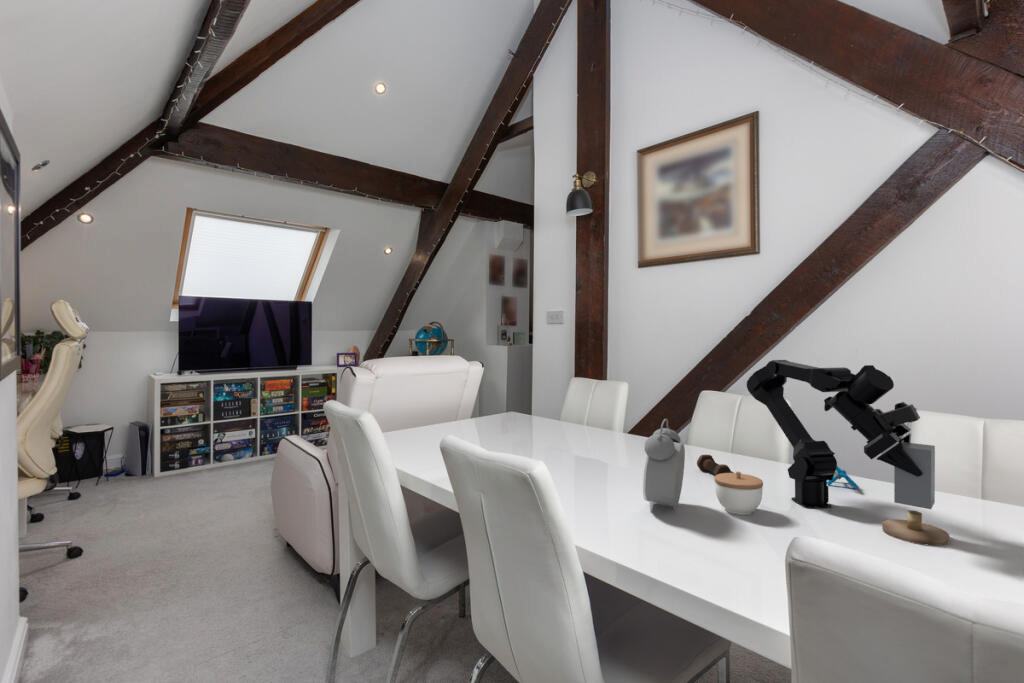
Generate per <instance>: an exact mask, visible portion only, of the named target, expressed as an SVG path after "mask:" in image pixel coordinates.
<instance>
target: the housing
mask: <svg viewBox="0 0 1024 683" xmlns="http://www.w3.org/2000/svg"><path fill="white" fill-rule="evenodd" d="M904 451H905V452H906V453H907V455H908V456H909V457H910V458H911V459H912V461H913V462H914V463H915V464H916V465H917V467H918V468H919V469H920V470H921V472H922V473H923V474H922V475H921V476H919V477H917V476H915V475H913V474H911V473H908V472H906V471H904V470H902V469H899V468H897V467H895V466H893V467H894V473H893V474H894V483H893V484H894V485H893V486H894V491H893V494H894V498H893V499H894V502H893V503H895V504H901V505H906V506H911V507H916V508H921V509H926V510H927V509H928V510H932V508H933V506H934V505H935V503H936V502H935V501H936V500H935V499H936V498H935V497H936V496H935V495H936V493H935V492H936V491H935V490H936V489H935V487H936V482H935V480H936V476H935V474H936V466H935V465H936V446H935V445H931V444H923V443H915V442H911V443H907V442H904Z"/></svg>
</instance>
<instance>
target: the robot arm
mask: <svg viewBox="0 0 1024 683" xmlns="http://www.w3.org/2000/svg"><path fill="white" fill-rule="evenodd" d="M788 379H792V380H793V379H794V380H796V381H801V382H805V383H807V384H809V385H810V386H811V388H813V389H814V390H817V391H819V392H821V393H835V395H833V396H828V397H826V398H825V399H824V400H823V402H824V407H823V408H824V411H825V412H829V411H830V410H831V409H834V410H835V411H836V412H837V413H839V415H841V417H843V418H844V419H845V420H846V421H847V422H848V423H849V424H850V425H851V426H850V428H851V429H852V430H853V431H858V433H859V434H861V435H862V437H864V438H865V439H866V440H867V441H866V443H867V444H865V445H864V446H863V453H864V454H865V456H867V457H868V458H869V459H870V460H873V459H875V458H876V460H878V461H881V462H883V463H886V464H888V465H891V466H892V467H894V466H895V467H897V468H899V469H902V470H904V471H906V472H908V473H911V474H913V475H915V476H917V477H919V476H921V475H922V474H923V473H922V472H921V470H920V469H919V468H918V467H917V465H916V464H915V463H914V462H913V461H912V459H911V458H910V457H909V456H908V455H907V453H906V452H905V451H904V442H907V443H912V438H911V437H912V433H911V430H912V429H911V428H910V427H909V426H908V425H907V424H906V423H914V422H916V421H919V419H921V416H920V415H919V413H918V411H917V408H916V407H915V406H914V404H912V403H911V404H908V403H906V402H905V401H901V402H899V403H895V404H894V409H892V410H891V409H890V410H888V411H886V412H883V411H882V410H881V409H880V408H874V407H873V406H872V405H873V404H875V403H877V401H879V400H880V399H882V397H884V396H886V394H887V393H888V392H890V391H891V390H892V389H894V386H895V383H894V380H893V379H892V377H891V376H890V375H888V374H887V373H885V372H883V371H882V370H879V369H877V368H876V367H875V366H874V365H871V364H870V365H869V364H868V365H867V364H865V365H863V367H861V368H860V370H859V371H858V372H857V373H856V374H855V373H853V372H852V371H851V369H849V368H848V367H817V366H813V365H807V364H803V363H798V362H794V361H790V360H787V359H773V360H770V361H768V362H767V364H766V365H764V366H763V367H761V368H759V369H758V370H756V371H755V372H753V373H752V374H751V375H750V377H749V378H748V380H747V381H746V388H747V391H748V392H749V394H750V395H751V396H752V397H753V398H754V400H756V401H758V402H760V403H761V404H763V405H764V406H765V407H767V409H768V411H769V412H770V413H771V416H772V417H773V419H774V420H775V421H776V423H777V425H778V426H779V427H780V429H781V431H782V432H783V434H784V435H785V437H786V438H787V440H788V441H789V443H790V444H791V446H792V448H793V452H792V458H793V461H794V462H793V463H792V464H791V465H790V466H789V467H788V468H787V473H788V477H789V479H793V480H794V497H793V496H792V497H791V500H792V501H793V502H795V503H796V504H798V505H800V506H802V507H804V508H811V509H812V508H832V505H831V504H830V503H829V502H830V500H829V485H828V484H827V482H828V481H829V480H830V481H831V480H833V477H834V474H835V472H837V471H836V468H837V466H838V461H837V458H836V457H835V454H836V452H834V451H833V450H831V449H830V446H829V445H828V443H827V442H826V441H825V440H815V439H814V438H812V436H811V435H810V434H809V432H808V430H807V428H806V427H805V426H804V425H803V423H802V422H801V420H800V419H799V417H798V416H797V415H796V413H795V412H794V410H793V409H792V407H791V406H790V405H789V403H788V402H787V400H786V398H785V397H784V393H785V392H784V391H785V389H784V385H785V384H786V383H787V382H788V381H787V380H788ZM909 432H910V433H909ZM908 433H909V434H908ZM905 434H907V435H905ZM904 435H905V436H904Z"/></svg>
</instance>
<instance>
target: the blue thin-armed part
mask: <svg viewBox="0 0 1024 683" xmlns="http://www.w3.org/2000/svg"><path fill="white" fill-rule="evenodd" d="M842 478H844V480H846V481H847V482H848V484H850V485H851V486H852V487H853V488H854V489H858V488H859V485H858V484H857V483H856V482H855V481H854V480H852V478H851V477H850V476H849V475H848V474H847V471H846V469H844V468H843V469H842V468H841V467H839V466H838V465H837V468H836V471H835V474H834V477H833V480H831V481H830V480H827V486H831V485H832V484H833V483H835V482H836V481H837V480H841V479H842ZM857 487H858V488H857Z"/></svg>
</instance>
